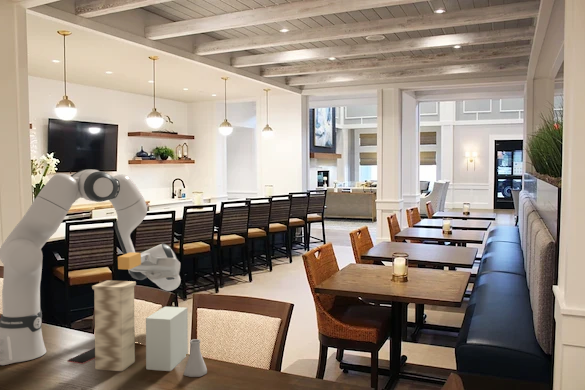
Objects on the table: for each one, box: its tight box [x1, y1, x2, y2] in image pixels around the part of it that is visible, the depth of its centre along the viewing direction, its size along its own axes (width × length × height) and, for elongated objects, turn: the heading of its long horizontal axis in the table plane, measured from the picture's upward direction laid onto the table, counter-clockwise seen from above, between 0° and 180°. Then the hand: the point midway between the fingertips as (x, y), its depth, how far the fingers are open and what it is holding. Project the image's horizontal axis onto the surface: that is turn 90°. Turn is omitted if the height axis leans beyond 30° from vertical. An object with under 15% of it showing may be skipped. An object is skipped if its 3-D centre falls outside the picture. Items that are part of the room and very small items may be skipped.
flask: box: [183, 338, 208, 378], centre depth 153 cm, size 7×7×10 cm
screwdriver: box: [117, 252, 150, 270], centre depth 172 cm, size 17×4×4 cm, turn 170°
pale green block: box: [145, 306, 189, 372], centre depth 162 cm, size 8×14×16 cm, turn 170°
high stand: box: [91, 279, 137, 372], centre depth 159 cm, size 10×8×26 cm
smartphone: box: [66, 347, 95, 365], centre depth 168 cm, size 7×1×14 cm
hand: (142, 256), depth 177 cm, fingers closed on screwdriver, 2 cm apart
